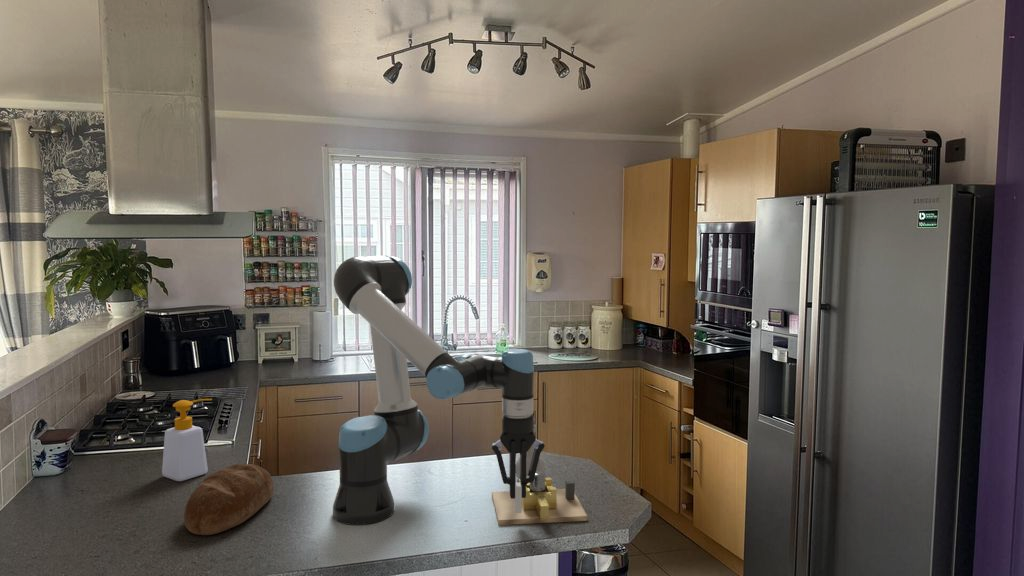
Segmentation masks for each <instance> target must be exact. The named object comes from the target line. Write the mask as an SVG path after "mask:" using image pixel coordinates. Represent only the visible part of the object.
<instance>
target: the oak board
mask: <svg viewBox="0 0 1024 576" xmlns="http://www.w3.org/2000/svg"><path fill="white" fill-rule="evenodd" d="M556 489H557V508H549V520H540V517H539V515H538V512H537V510H536V509H525V510H523V507H522V513H515V510H514V499H511V497H510V490H505V491H501V490H500V491H491V499H492V503H493V508H494V512H495V516H496V520H497V525H498V526H503V525H506V526H507V525H525V524H526V525H527V524H543V523H544V524H546V523H563V522H566V523H567V522H584V521H585V522H586V521H588V514H587V513H586V511H585V509H584V507H583V506H582V503H581V502H580V500H579V499H578V497H577V495H576V493H575V494H574V500H567V499H566V497H565V488H556Z"/></svg>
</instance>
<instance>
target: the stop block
mask: <svg viewBox="0 0 1024 576" xmlns="http://www.w3.org/2000/svg"><path fill="white" fill-rule="evenodd" d="M575 484H576V483H575V482H574V480H565V488H564V489H565V497H566V499H567V500H574V494H575V495H576V493H575V492H576V491H575V486H576V485H575Z"/></svg>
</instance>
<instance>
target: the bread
mask: <svg viewBox="0 0 1024 576" xmlns="http://www.w3.org/2000/svg"><path fill="white" fill-rule="evenodd" d="M274 489H275V483H274V480H273V478H272V476H271V474H270V473H269V472H268V470H266V469H265V468H263V467H261V466H259V465H256V464H253V463H246V464H245V463H237V464H232V465H228V466H227V467H224V468H223V469H221V470H218V471H216V472H213V473H212V474H210V475H208V476H206V477H205V478H204V479H203V480H202V481H201V482H200V484H199V485H198V486H197V487H195V489H194V490H193V491H192V493H191V494H190V495H189V498H188V500H187V502H186V505H185V509H184V515H183V520H184V525H185V528H186V530H188V531H189V532H190V533H192V534H193V535H197V536H212V535H216V534H219V533H222V532H225V531H227V530H230V529H231V528H235V527H237V526H239V525H241V524H242V523H244V522H246V521H247V520H248V519H250V518H252V517H253V516H254V515H255V514H257V512H258V511H259V510H261V509H262V508H263V507H264V506H265V505H266V504H267V503H268V502H269V501H270V500H271V498H272V497H273V494H274Z"/></svg>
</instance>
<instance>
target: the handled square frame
mask: <svg viewBox="0 0 1024 576" xmlns="http://www.w3.org/2000/svg"><path fill="white" fill-rule="evenodd" d="M518 482H520V479H519V481H518ZM557 489H558V488H557V487H555V486H553V480H552V477H545V492H537V493H530V483H528V484H527V485H526V497H525V498H522V507H523V510H525V509H536V510H537V512H538V515H539V517H540V520H549V508H557Z"/></svg>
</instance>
